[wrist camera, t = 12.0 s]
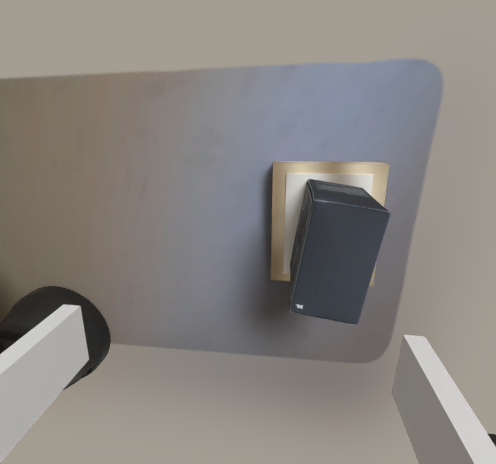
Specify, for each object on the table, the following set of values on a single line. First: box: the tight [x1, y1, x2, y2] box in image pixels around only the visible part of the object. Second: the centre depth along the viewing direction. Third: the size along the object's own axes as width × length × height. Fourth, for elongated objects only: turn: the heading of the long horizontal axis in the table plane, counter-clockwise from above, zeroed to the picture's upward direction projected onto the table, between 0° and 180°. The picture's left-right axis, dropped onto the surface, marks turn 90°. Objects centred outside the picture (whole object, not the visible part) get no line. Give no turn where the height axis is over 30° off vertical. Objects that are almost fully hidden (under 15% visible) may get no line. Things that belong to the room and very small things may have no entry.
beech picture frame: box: [271, 161, 389, 286], centre depth 37 cm, size 12×14×3 cm
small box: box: [289, 179, 391, 325], centre depth 31 cm, size 11×6×10 cm, turn 172°
